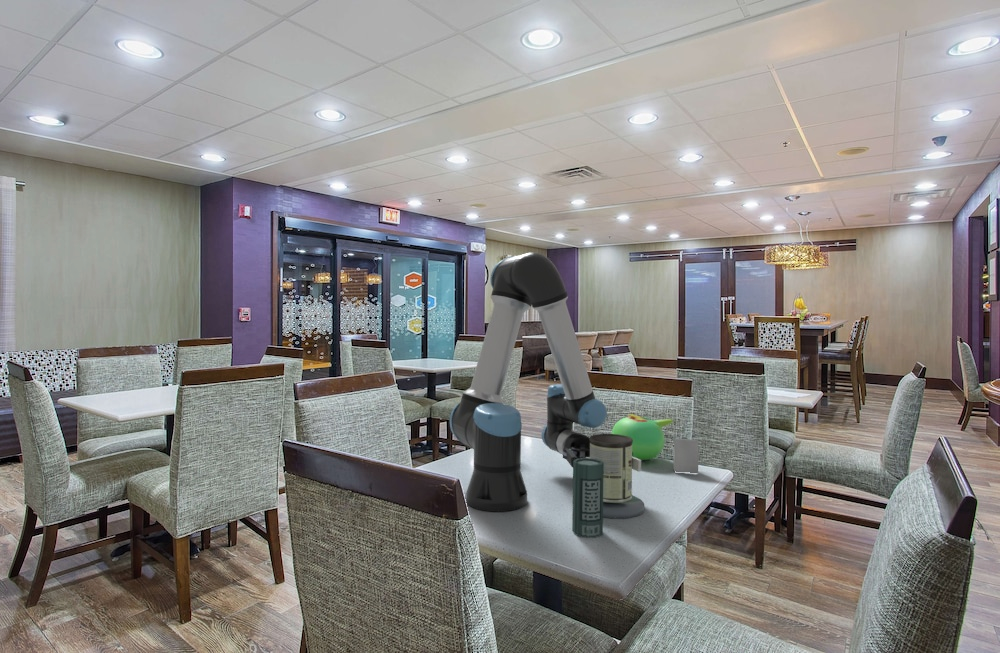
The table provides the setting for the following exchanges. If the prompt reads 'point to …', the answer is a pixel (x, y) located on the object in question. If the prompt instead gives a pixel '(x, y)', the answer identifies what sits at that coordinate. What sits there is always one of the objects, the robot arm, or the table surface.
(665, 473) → the table surface
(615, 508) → the stoneware plate
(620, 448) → the coffee can
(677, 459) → the grey box
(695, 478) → the table surface
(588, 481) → the can
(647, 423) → the toy bird
